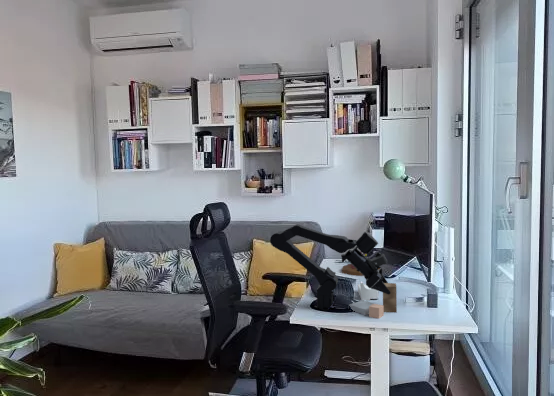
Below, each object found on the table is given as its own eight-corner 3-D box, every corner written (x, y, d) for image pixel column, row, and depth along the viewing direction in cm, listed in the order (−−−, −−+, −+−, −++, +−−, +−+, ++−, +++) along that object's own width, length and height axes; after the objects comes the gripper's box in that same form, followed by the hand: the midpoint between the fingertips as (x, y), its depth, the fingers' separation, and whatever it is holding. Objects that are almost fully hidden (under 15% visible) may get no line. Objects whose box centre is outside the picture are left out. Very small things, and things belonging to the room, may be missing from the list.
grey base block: (364, 315, 178) (364, 309, 177) (349, 310, 184) (349, 304, 184) (378, 311, 183) (378, 304, 182) (362, 306, 189) (362, 300, 189)
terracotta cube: (379, 318, 173) (379, 308, 173) (369, 316, 175) (369, 306, 175) (383, 315, 176) (383, 305, 176) (373, 313, 178) (373, 303, 178)
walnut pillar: (383, 312, 180) (382, 286, 179) (383, 307, 185) (382, 283, 184) (396, 312, 179) (396, 286, 178) (396, 308, 184) (395, 283, 183)
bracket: (378, 300, 195) (378, 283, 194) (361, 301, 196) (361, 283, 195) (374, 292, 208) (374, 275, 207) (358, 292, 208) (357, 275, 208)
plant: (337, 275, 241) (336, 253, 240) (347, 266, 258) (346, 246, 258) (376, 277, 233) (375, 255, 232) (383, 269, 250) (383, 248, 250)
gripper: (374, 252, 172) (406, 282, 171) (374, 243, 190) (403, 270, 189) (353, 273, 174) (384, 303, 173) (355, 262, 192) (383, 289, 191)
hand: (389, 290), depth 181 cm, fingers open, 9 cm apart
